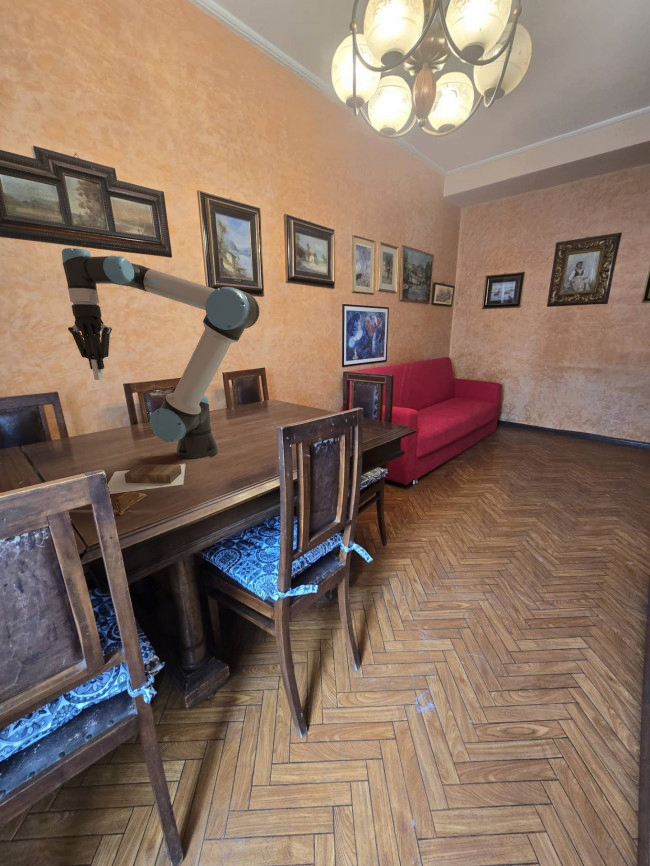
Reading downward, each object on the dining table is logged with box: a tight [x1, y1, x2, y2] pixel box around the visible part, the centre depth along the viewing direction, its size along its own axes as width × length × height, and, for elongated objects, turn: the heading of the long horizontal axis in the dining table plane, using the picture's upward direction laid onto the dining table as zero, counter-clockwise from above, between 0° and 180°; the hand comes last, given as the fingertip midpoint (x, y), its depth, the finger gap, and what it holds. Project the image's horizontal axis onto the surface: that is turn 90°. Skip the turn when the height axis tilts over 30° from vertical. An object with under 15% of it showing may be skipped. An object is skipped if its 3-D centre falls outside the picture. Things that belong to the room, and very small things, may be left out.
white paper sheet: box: [107, 463, 186, 495], centre depth 112 cm, size 22×18×1 cm
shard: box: [114, 491, 148, 516], centre depth 96 cm, size 11×8×2 cm
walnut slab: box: [124, 464, 181, 484], centre depth 111 cm, size 3×8×14 cm
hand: (99, 379), depth 116 cm, fingers closed
